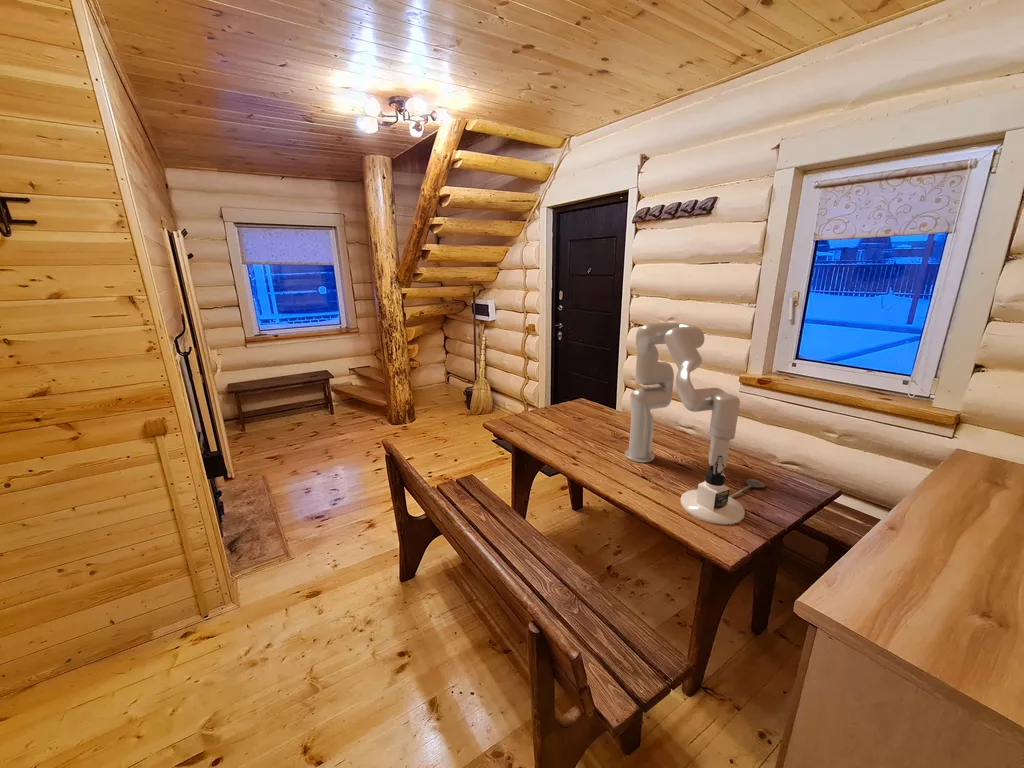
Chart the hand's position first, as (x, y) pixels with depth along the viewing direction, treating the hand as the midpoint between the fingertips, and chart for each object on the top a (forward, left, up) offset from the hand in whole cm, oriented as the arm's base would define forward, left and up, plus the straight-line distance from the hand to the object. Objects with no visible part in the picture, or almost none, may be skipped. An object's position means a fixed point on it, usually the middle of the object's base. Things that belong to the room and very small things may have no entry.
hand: (715, 478), depth 137 cm
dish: (0, 0, -11) cm, 11 cm away
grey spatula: (-17, +12, -12) cm, 24 cm away
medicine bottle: (0, 0, -10) cm, 10 cm away
